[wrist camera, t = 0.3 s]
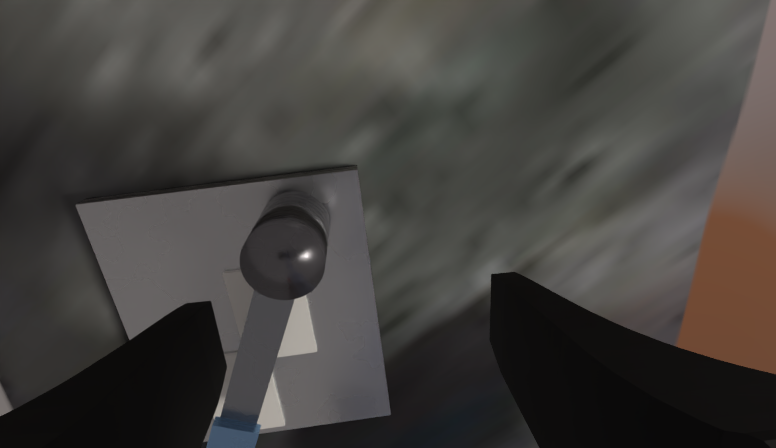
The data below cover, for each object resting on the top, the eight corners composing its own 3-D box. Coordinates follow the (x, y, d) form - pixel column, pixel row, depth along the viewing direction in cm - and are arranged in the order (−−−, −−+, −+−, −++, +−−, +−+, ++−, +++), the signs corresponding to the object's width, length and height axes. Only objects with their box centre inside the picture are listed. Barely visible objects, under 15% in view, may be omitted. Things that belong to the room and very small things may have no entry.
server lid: (389, 403, 25) (390, 414, 24) (177, 434, 24) (172, 446, 23) (357, 165, 19) (357, 169, 19) (86, 198, 19) (75, 204, 18)
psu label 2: (285, 422, 23) (284, 425, 23) (220, 432, 23) (219, 435, 23) (265, 348, 22) (265, 350, 21) (195, 358, 21) (194, 360, 21)
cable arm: (270, 182, 18) (249, 214, 15) (338, 202, 19) (335, 238, 15) (214, 399, 22) (187, 466, 18) (272, 410, 23) (257, 478, 19)
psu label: (317, 349, 22) (316, 351, 22) (247, 358, 22) (246, 361, 22) (299, 261, 20) (298, 263, 20) (223, 271, 20) (222, 273, 20)
